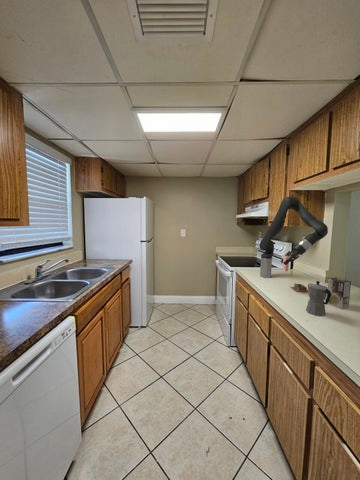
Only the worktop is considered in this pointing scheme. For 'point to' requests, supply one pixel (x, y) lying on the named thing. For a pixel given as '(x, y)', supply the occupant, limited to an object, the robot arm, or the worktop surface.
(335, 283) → the coffee box
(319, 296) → the coffeepot
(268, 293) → the worktop surface
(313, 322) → the worktop surface
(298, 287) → the holder
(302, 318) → the worktop surface
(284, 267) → the salmon pink brick
